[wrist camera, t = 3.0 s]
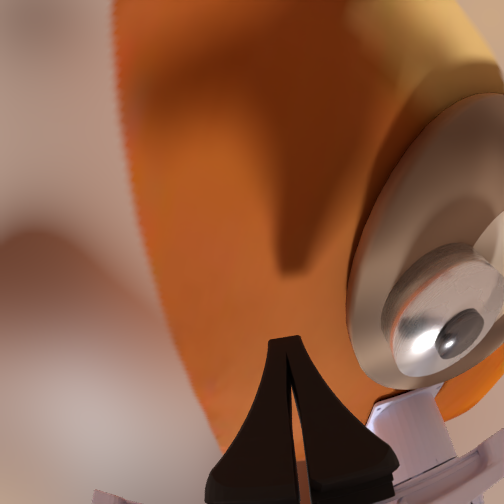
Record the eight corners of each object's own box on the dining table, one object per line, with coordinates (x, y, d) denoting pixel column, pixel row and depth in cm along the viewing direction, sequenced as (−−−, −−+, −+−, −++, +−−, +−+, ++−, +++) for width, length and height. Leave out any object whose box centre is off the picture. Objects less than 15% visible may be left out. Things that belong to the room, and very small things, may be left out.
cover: (462, 328, 13) (483, 360, 11) (372, 358, 14) (387, 399, 11) (492, 233, 10) (527, 263, 7) (388, 255, 11) (421, 299, 8)
